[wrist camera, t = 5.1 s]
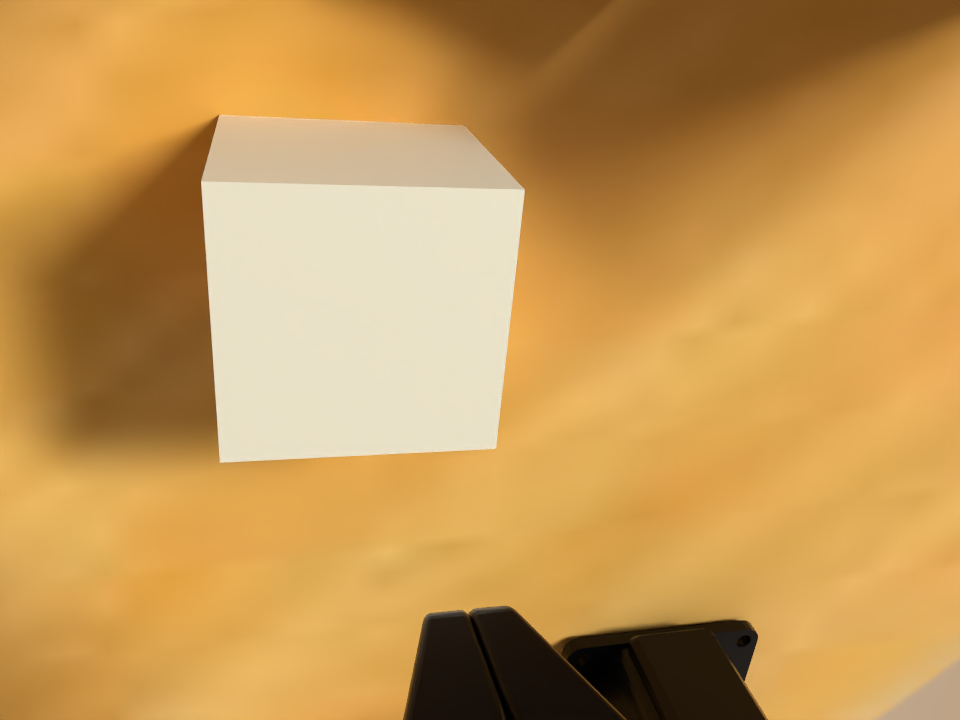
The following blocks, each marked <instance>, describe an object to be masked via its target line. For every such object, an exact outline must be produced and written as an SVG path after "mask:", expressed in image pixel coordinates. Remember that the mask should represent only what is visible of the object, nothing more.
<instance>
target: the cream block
mask: <svg viewBox="0 0 960 720" xmlns="http://www.w3.org/2000/svg"><path fill="white" fill-rule="evenodd" d="M201 187H202V202H203V217H204V232H205V247H206V262H207V277H208V292H209V307H210V322H211V337H212V351H213V366H214V381H215V396H216V411H217V426H218V441H219V456H220V463H222V462H242V461H262V460H281V459H301V458H321V457H341V456H361V455H381V454H401V453H421V452H441V451H461V450H481V449H496V443H497V434H498V425H499V416H500V407H501V398H502V389H503V380H504V371H505V363H506V354H507V345H508V336H509V327H510V318H511V309H512V300H513V291H514V282H515V274H516V265H517V256H518V247H519V238H520V229H521V220H522V211H523V202H524V193H525V189H524V188H523V187H522V186H521V185H520V184H519V183H518V182H517V181H516V180H515V179H514V178H513V177H512V175H511V174H510V173H509V172H508V171H507V170H506V169H505V168H504V167H503V166H502V165H501V164H500V163H499V162H498V161H497V160H496V159H495V158H494V156H493V155H492V154H491V153H490V152H489V151H488V150H487V149H486V148H485V147H484V146H483V145H482V144H481V143H480V142H479V141H478V140H477V139H476V137H475V136H474V135H473V134H472V133H471V132H470V131H469V130H468V129H467V128H466V127H465V126H464V125H443V124H420V123H397V122H374V121H351V120H329V119H306V118H283V117H260V116H237V115H219V118H218V122H217V126H216V129H215V133H214V136H213V140H212V144H211V147H210V151H209V155H208V158H207V162H206V165H205V169H204V173H203V176H202V180H201Z"/></svg>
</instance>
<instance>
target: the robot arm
mask: <svg viewBox="0 0 960 720" xmlns="http://www.w3.org/2000/svg"><path fill="white" fill-rule="evenodd" d="M757 640H758V635H757V633H756V631H755V630H754V628H753V627H752V625H751V624H750V623H749V622H747V621H742V620H741V621H732V622H722V623H713V624H704V625H695V626H686V627H677V628H668V629H658V630H649V631H640V632H631V633H622V634H613V635H603V636H594V637H585V638H578V639H574V640H572V641H571V642H569V643H568V644H567V645H566V646H565V647H564V649H563V651H562V655H560V654H559V653H558V652H557V651H556V650H555V649H554V648H553V647H552V646H551V645H550V644H549V643H548V642H547V641H546V640H545V639H544V638H543V637H542V636H541V635H540V634H539V633H538V632H537V631H536V630H535V629H534V628H533V627H532V626H531V625H530V624H529V623H528V622H527V621H526V620H525V619H524V618H523V617H522V616H521V615H520V614H519V613H518V612H517V611H516V610H514V609H513V608H511V607H509V606H497V607H487V608H476V609H473V610H472V611H470V612H469V614H467V613H466V612H465V611H463V610H457V611H447V612H437V613H430V614H427V615H426V616H425V618H424V620H423V624H422V629H421V634H420V639H419V644H418V649H417V654H416V659H415V664H414V669H413V674H412V679H411V683H410V688H409V693H408V698H407V703H406V708H405V713H404V718H403V720H768V719H767V718H766V716H765V714H764V713H763V711H762V710H761V708H760V706H759V705H758V703H757V702H756V700H755V698H754V697H753V695H752V694H751V692H750V690H749V689H748V687H747V685H746V684H745V682H744V681H745V678H746V675H747V671H748V668H749V665H750V662H751V659H752V656H753V652H754V649H755V646H756V643H757ZM578 655H579V656H578Z"/></svg>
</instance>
